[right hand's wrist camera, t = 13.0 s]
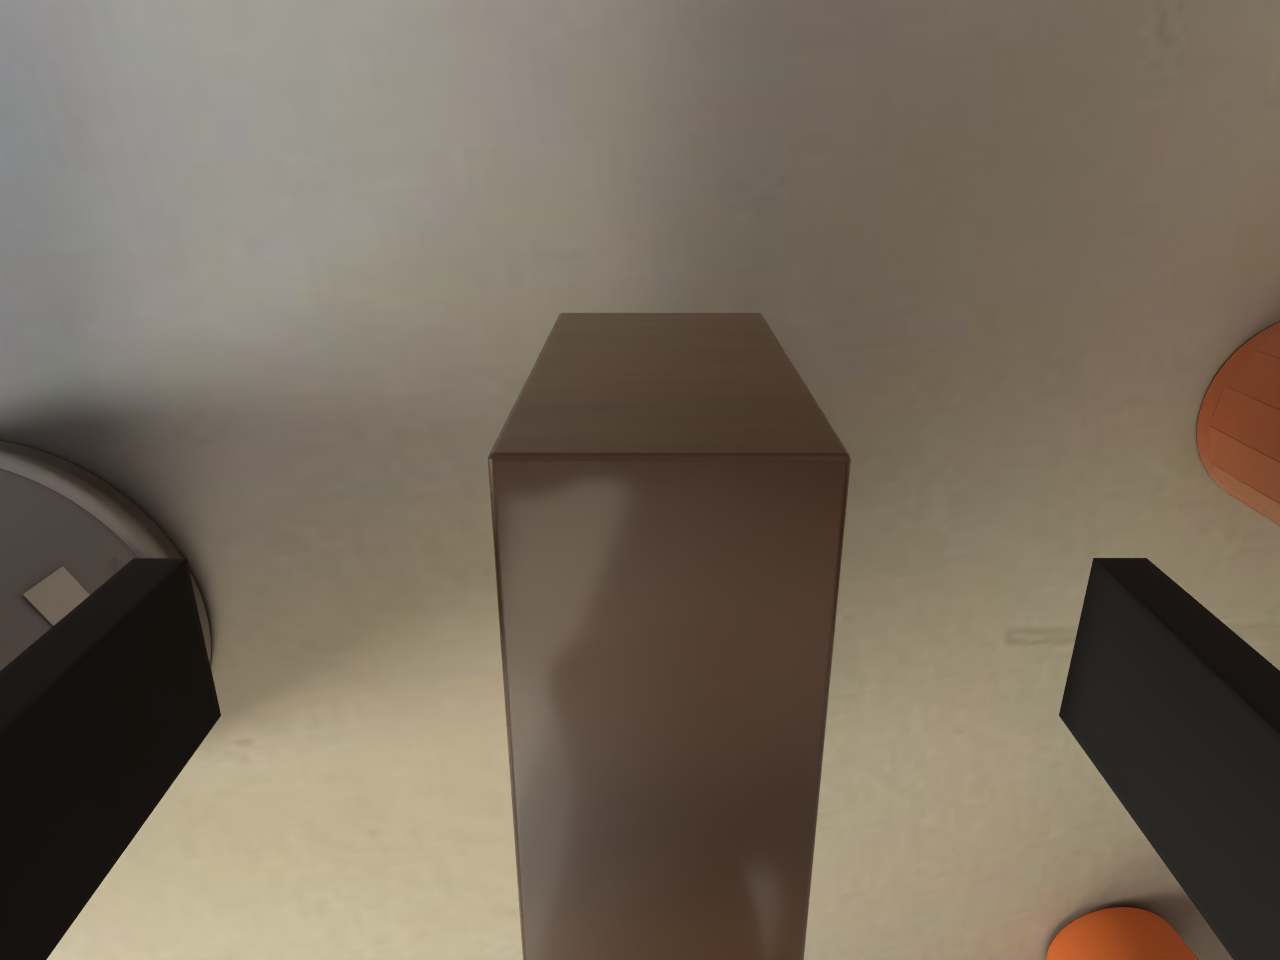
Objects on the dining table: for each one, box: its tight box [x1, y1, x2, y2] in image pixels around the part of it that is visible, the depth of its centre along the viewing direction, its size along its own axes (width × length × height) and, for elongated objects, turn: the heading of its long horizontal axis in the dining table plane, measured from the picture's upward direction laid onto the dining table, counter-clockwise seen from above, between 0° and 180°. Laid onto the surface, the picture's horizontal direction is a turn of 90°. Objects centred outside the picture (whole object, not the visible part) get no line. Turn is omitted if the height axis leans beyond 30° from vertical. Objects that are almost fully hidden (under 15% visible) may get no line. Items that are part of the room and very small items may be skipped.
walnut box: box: [488, 313, 851, 960], centre depth 19 cm, size 26×4×9 cm, turn 0°
